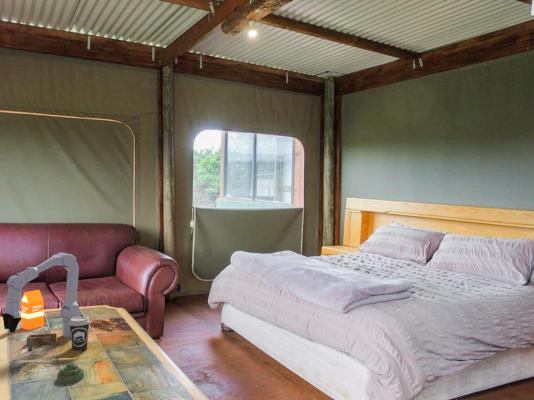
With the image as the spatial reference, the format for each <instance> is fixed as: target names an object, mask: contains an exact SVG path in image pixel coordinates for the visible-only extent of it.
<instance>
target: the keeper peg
mask: <svg viewBox="0 0 534 400" xmlns="http://www.w3.org/2000/svg"><path fill="white" fill-rule="evenodd" d="M28 351H32V339H29V340H28Z"/></svg>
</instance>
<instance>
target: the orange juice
mask: <svg viewBox="0 0 534 400" xmlns="http://www.w3.org/2000/svg"><path fill="white" fill-rule="evenodd" d="M44 303H45V301H44V298H43V296H42V293H41V291H40V289H36V290H29V291H25V292H24V294H23V296H22V297H21V300H20V317H21V318H22V319H21V320H20V323H21V324H20V325H21V326H20V328H21V329H25V330H33V329H37V328H40V327H44V326H45V315H44V314H45V309H44V308H45V305H44Z"/></svg>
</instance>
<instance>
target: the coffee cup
mask: <svg viewBox="0 0 534 400" xmlns="http://www.w3.org/2000/svg"><path fill="white" fill-rule="evenodd" d="M90 323H91V321H90V319H89V317H88V316H84V315H82V316H81V315H80V316H79V317H74V318H72V319H71V320H70V322H69V325H70V332H71V337H70V338H71V339H70V341H71V349H72V350H74V351H79V350H80V353H81V352H85V351H86V350H88V342H89V328H90Z"/></svg>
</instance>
